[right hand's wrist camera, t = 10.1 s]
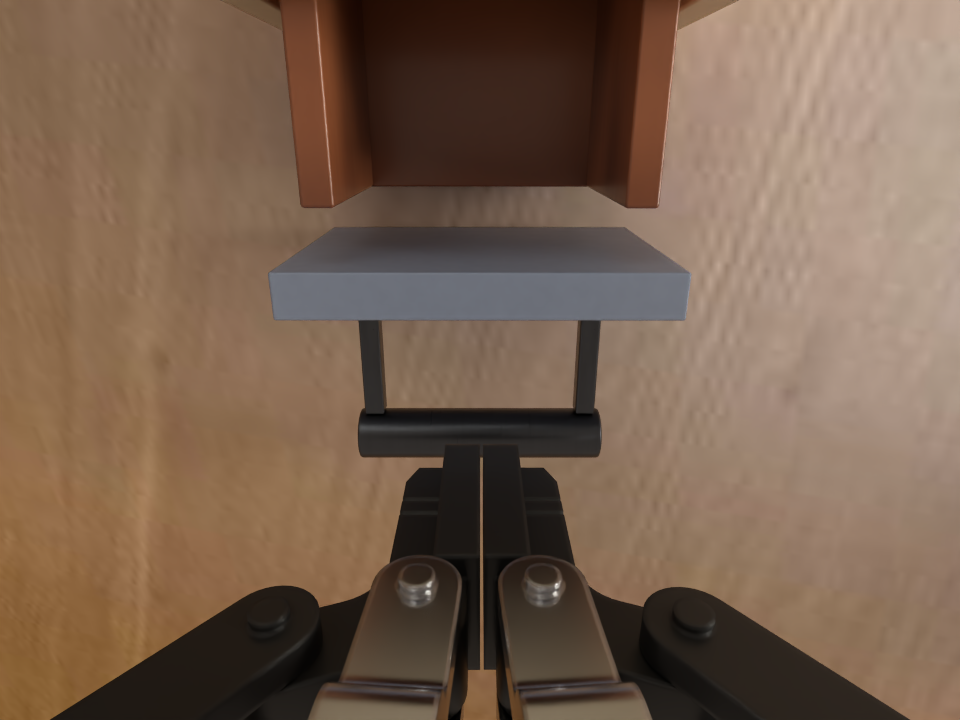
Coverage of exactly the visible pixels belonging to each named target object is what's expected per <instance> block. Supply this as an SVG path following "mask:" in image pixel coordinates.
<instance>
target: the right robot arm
mask: <svg viewBox="0 0 960 720" xmlns="http://www.w3.org/2000/svg"><path fill="white" fill-rule="evenodd" d="M483 615H484V670H496V684H497V705H496V716H497V720H910V719H908V718H906V717H905V716H903V715H902V714H900V713H898V712H897V711H895V710H894V709H892V708H891V707H889V706H887V705H886V704H884V703H883V702H881V701H879V700H878V699H876V698H875V697H873V696H872V695H870V694H868V693H867V692H865V691H864V690H862V689H860V688H859V687H857V686H856V685H854V684H853V683H851V682H849V681H848V680H846V679H845V678H843V677H841V676H840V675H838V674H837V673H835V672H834V671H832V670H830V669H829V668H827V667H826V666H824V665H822V664H821V663H819V662H818V661H816V660H815V659H813V658H811V657H810V656H808V655H807V654H805V653H803V652H802V651H800V650H799V649H797V648H796V647H794V646H792V645H791V644H789V643H788V642H786V641H784V640H783V639H781V638H780V637H778V636H777V635H775V634H773V633H772V632H770V631H769V630H767V629H765V628H764V627H762V626H761V625H759V624H758V623H756V622H754V621H753V620H751V619H750V618H748V617H746V616H745V615H743V614H742V613H740V612H739V611H737V610H735V609H734V608H732V607H731V606H729V605H727V604H726V603H724V602H723V601H721V600H720V599H718V598H716V597H714V596H712V595H710V594H708V593H705V592H703V591H699V590H696V589H691V588H685V587H671V588H665V589H662V590H659V591H657V592H655V593H653V594H652V595H651V596H650V597H649V598H648V599H647V600H646V602H645V604H644V607H641V606H637V605H633V604H629V603H625V602H621V601H617V600H614V599H611V598H609V597H606V596H604V595H602V594H600V593H598V592H597V591H595V590H594V589H592V588H591V587H589V586H588V583H587V581H586V579H585V577H584V575H583V574H582V572H581V571H580V570H579V569H578V568H577V567H575V563H574V559H573V554H572V550H571V545H570V540H569V536H568V531H567V527H566V522H565V517H564V515H563V508H562V504H561V501H560V494H559V490H558V485H557V482H556V480H555V479H554V478H553V477H552V476H551V475H550V474H549V473H548V472H547V471H546V470H545V469H544V468H521V467H520V459H519V451H518V444H483ZM468 670H480V444H445V452H444V461H443V468H419V469H418V470H417V471H416V472H415V473H414V474H413V475H412V476H411V478H410V479H409V480H408V481H407V482H406V486H405V491H404V496H403V501H402V505H401V510H400V515H399V520H398V525H397V529H396V534H395V539H394V544H393V549H392V553H391V558H390V563H389V564H388V565H386V566H385V567H383V568H382V569H381V570H380V571H379V572H378V574H377V575H376V577H375V579H374V581H373V583H372V586H371V589H370V590H369V591H368V592H366V593H364V594H363V595H361V596H359V597H356V598H354V599H351V600H348V601H344V602H340V603H336V604H332V605H328V606H324V607H320V608H319V605H318V602H317V600H316V599H315V597H314V596H313V595H312V594H311V593H310V592H308V591H306V590H304V589H301V588H298V587H294V586H274V587H269V588H265V589H261V590H258V591H256V592H253V593H251V594H249V595H247V596H246V597H244V598H242V599H240V600H239V601H237V602H236V603H234V604H233V605H231V606H229V607H228V608H226V609H225V610H223V611H221V612H220V613H218V614H217V615H215V616H214V617H212V618H210V619H209V620H207V621H206V622H204V623H202V624H201V625H199V626H198V627H196V628H195V629H193V630H191V631H190V632H188V633H187V634H185V635H183V636H182V637H180V638H179V639H177V640H176V641H174V642H172V643H171V644H169V645H168V646H166V647H164V648H163V649H161V650H160V651H158V652H157V653H155V654H153V655H152V656H150V657H149V658H147V659H145V660H144V661H142V662H141V663H139V664H138V665H136V666H134V667H133V668H131V669H130V670H128V671H126V672H125V673H123V674H122V675H120V676H119V677H117V678H115V679H114V680H112V681H111V682H109V683H107V684H106V685H104V686H103V687H101V688H100V689H98V690H96V691H95V692H93V693H92V694H90V695H88V696H87V697H85V698H84V699H82V700H81V701H79V702H77V703H76V704H74V705H73V706H71V707H69V708H68V709H66V710H65V711H63V712H62V713H60V714H58V715H57V716H55V717H54V718H52V719H50V720H463V716H464V705H463V704H464V702H465V699H466V696H467V688H468Z"/></svg>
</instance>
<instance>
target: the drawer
mask: <svg viewBox="0 0 960 720" xmlns="http://www.w3.org/2000/svg"><path fill="white" fill-rule="evenodd" d="M279 1H280V11H281V20H282V30H283V40H284V49H285V59H286V69H287V78H288V88H289V98H290V107H291V117H292V127H293V136H294V146H295V156H296V165H297V175H298V185H299V194H300V204H301V206H302V207H303V208H332V207H334V206H336V205H338V204H340V203H342V202H344V201H346V200H347V199H349V198H351V197H353V196H355V195H357V194H358V193H360V192H362V191H364V190H366V189H368V188H369V187H371V186H588V187H590V188H591V189H593V190H595V191H597V192H599V193H600V194H602V195H604V196H606V197H608V198H610V199H611V200H613V201H615V202H617V203H619V204H620V205H622V206H624V207H626V208H657V207H658V206H659V200H660V191H661V181H662V172H663V162H664V152H665V143H666V133H667V123H668V114H669V104H670V95H671V85H672V75H673V66H674V56H675V47H676V37H677V27H678V18H679V8H680V0H279ZM268 278H269V286H270V293H271V301H272V309H273V317H274V320H359V333H360V346H361V360H362V373H363V386H364V400H365V408H364V409H362V411H361V413H360V417H359V423H358V447H359V452H360V455H361V456H362V457H444V452H445V444H480V457H483V444H518V451H519V457H598V456H599V453H600V450H601V439H602V432H601V420H600V415H599V412H598V410H597V409H595V408H594V404H595V391H596V377H597V364H598V351H599V338H600V324H601V320H685V319H686V312H687V304H688V297H689V289H690V281H691V273H690V272H689V271H687V270H686V269H684V268H683V267H681V266H680V265H678V264H677V263H676V262H674V261H673V260H671V259H670V258H668V257H667V256H665V255H664V254H663V253H661V252H660V251H658V250H657V249H655V248H654V247H652V246H651V245H650V244H648V243H647V242H645V241H644V240H642V239H641V238H639V237H638V236H637V235H635V234H634V233H632V232H631V231H629V230H628V229H626V228H625V227H335V228H333V229H332V230H330V231H329V232H327V233H326V234H324V235H323V236H321V237H320V238H319V239H317V240H316V241H314V242H313V243H311V244H310V245H308V246H307V247H305V248H304V249H303V250H301V251H300V252H298V253H297V254H295V255H294V256H292V257H291V258H289V259H288V260H287V261H285V262H284V263H282V264H281V265H279V266H278V267H276V268H275V269H273V270H272V271H271V272H269V273H268ZM382 320H578V330H577V346H576V362H575V378H574V395H573V408H386V406H387V402H386V385H385V369H384V352H383V336H382Z"/></svg>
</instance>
